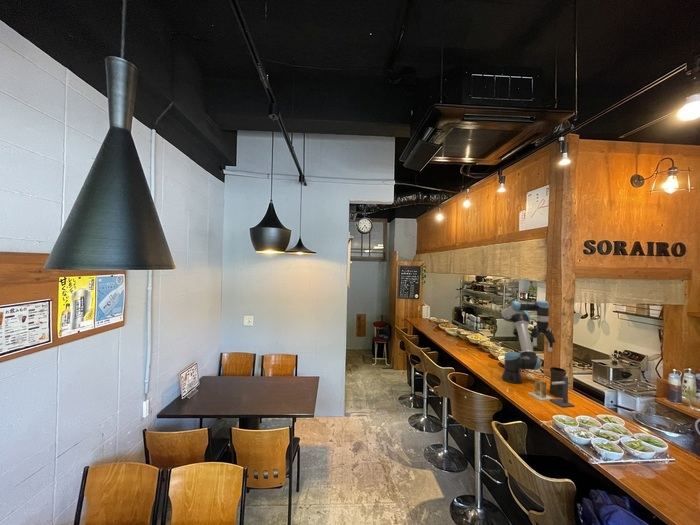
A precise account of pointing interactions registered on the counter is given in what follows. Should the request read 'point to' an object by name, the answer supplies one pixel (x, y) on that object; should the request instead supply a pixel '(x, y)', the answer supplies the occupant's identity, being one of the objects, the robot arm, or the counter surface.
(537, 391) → the link
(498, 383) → the counter surface
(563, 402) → the stand
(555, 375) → the beer stein
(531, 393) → the plate
